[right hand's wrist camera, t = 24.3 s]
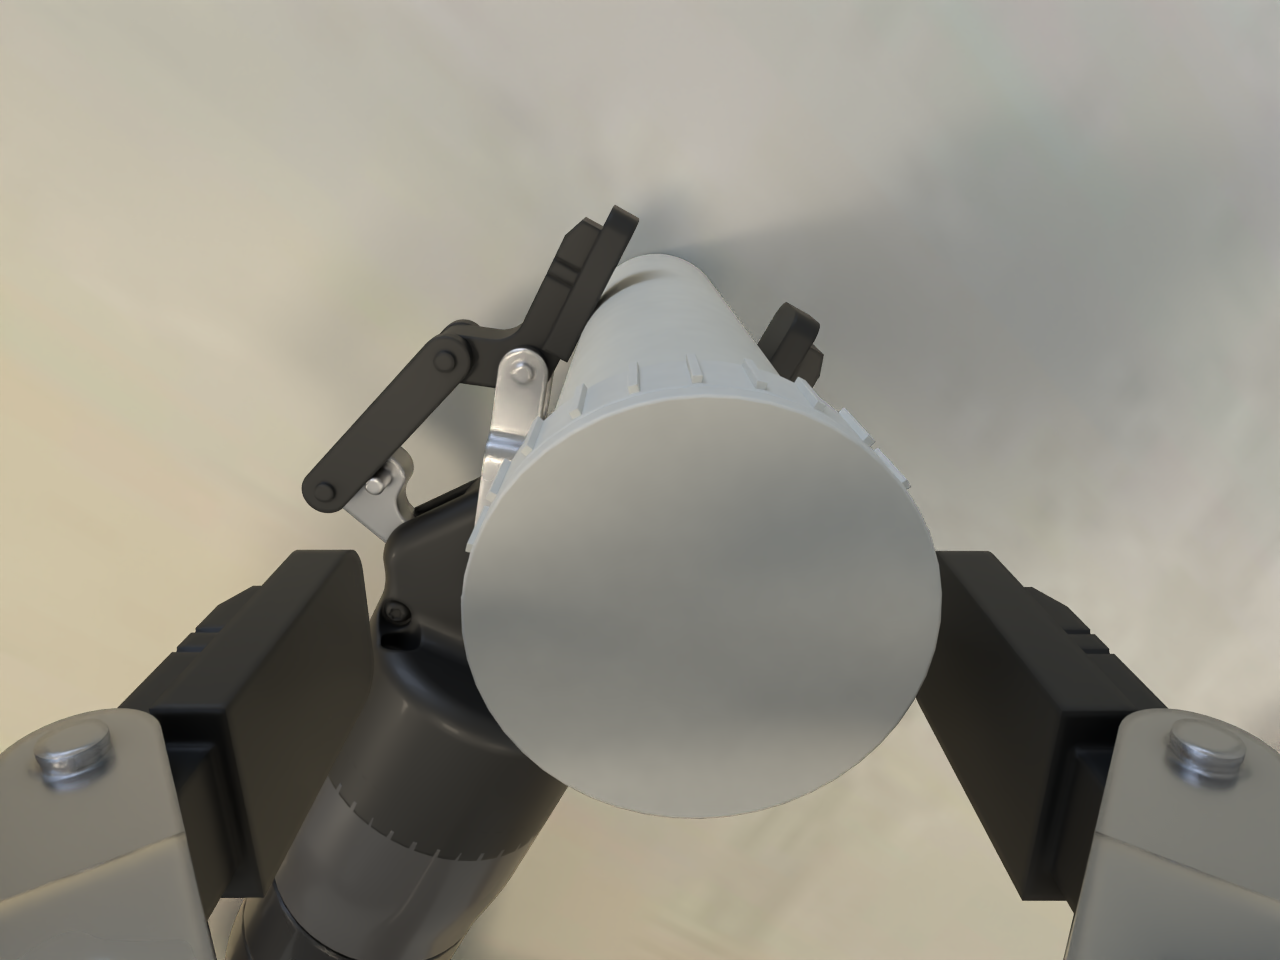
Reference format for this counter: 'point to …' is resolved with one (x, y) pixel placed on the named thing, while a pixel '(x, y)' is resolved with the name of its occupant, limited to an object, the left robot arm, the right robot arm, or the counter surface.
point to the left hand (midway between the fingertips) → (713, 266)
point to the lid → (699, 591)
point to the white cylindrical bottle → (657, 323)
